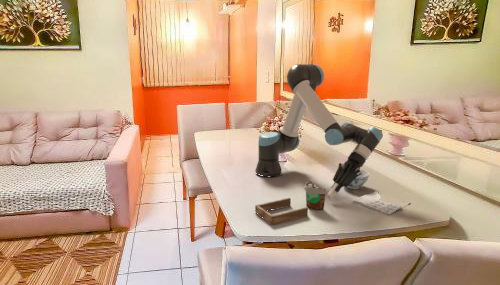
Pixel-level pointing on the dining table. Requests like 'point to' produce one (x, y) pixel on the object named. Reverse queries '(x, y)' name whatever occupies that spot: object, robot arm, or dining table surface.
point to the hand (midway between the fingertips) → (330, 196)
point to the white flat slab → (376, 203)
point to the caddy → (282, 217)
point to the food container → (314, 196)
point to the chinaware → (359, 180)
